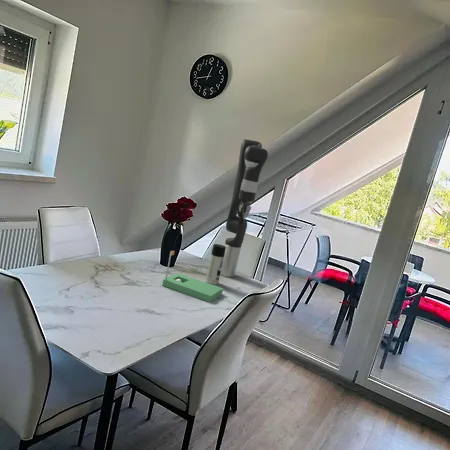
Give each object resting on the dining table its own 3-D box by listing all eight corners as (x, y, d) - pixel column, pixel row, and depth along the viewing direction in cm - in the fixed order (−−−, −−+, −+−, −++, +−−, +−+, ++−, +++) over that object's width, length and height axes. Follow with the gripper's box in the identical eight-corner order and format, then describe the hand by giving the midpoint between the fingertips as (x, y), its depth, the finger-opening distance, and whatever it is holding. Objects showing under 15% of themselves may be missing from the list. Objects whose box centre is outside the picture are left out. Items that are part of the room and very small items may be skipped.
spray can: (216, 285, 217) (224, 248, 213) (204, 282, 218) (211, 245, 214) (219, 282, 223) (227, 246, 220) (207, 279, 224) (215, 242, 221)
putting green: (177, 278, 215) (183, 246, 212) (221, 294, 206) (229, 261, 203) (162, 285, 201) (168, 251, 198) (209, 302, 192) (217, 266, 189)
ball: (183, 284, 207) (177, 284, 208) (182, 278, 206) (176, 278, 207) (180, 285, 204) (174, 286, 205) (179, 279, 203) (173, 280, 205)
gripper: (245, 188, 205) (238, 222, 208) (236, 188, 193) (228, 225, 196) (260, 191, 203) (252, 226, 206) (251, 192, 190) (243, 229, 193)
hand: (240, 225), depth 201 cm, fingers closed
